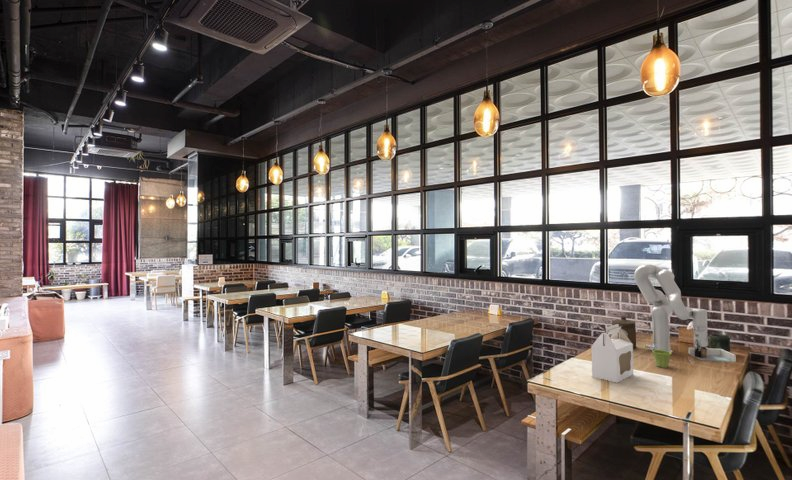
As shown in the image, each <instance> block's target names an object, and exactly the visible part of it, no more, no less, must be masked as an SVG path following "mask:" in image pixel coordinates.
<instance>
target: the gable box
mask: <svg viewBox="0 0 792 480" xmlns="http://www.w3.org/2000/svg"><path fill="white" fill-rule="evenodd" d="M620 328H621V326H620V327H619V325H618V324H615V325H612V324H611V325H609V326H606V327H604V332H602V333H601V334H600V335H599V336H598V337H597V338H596V340H595V341H594V342H593V343H592V345H591V377H592V378H594V377H596V378H595V379H598V378H600V379H599V380H603V379H604V381H607V380H608V381H607V382H611V381H612V383H615V382H616V383H615V384H618V383H619V382H621V381H623V379H624V380H625V379H627V378H629V377H631V376H633V375H634V349H633V343H632V342H631V341H630V340H629V338H628V337H627V336H626V334H625V333H624V332H623V330H621V329H620ZM620 338H621V339H620Z"/></svg>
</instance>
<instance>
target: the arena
mask: <svg viewBox="0 0 792 480" xmlns="http://www.w3.org/2000/svg"><path fill="white" fill-rule="evenodd" d="M706 348H707V357H706V358H700V357H694V349H695V348H694V347H688V355H690V356H691V357H694V358H696V359H698V360H700V361H709V362H711V361H712V362H732V363H733V362H734V363H736V362H737V357H736V354H734V353H732V352H731V351H730V352H727V351H725V350H723V349H710V348H708V347H706Z"/></svg>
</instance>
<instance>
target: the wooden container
mask: <svg viewBox="0 0 792 480" xmlns="http://www.w3.org/2000/svg"><path fill="white" fill-rule="evenodd" d="M611 321H612V323H611V326H612V325H615V324H618V325H619V327H620V326H621V328H620V329H621V330H623V332H624V333H625V334H626V336H627V337H628V338H629V340H630V341H631V342H632V343H633V350H635V349H637V332H636V329H637V327H636V322H635V321H634V320H629V319H627V316H625V315H622V316H620V319H612V320H611ZM620 339H621V338H620Z"/></svg>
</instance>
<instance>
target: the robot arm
mask: <svg viewBox="0 0 792 480" xmlns="http://www.w3.org/2000/svg"><path fill="white" fill-rule="evenodd" d="M633 278H634V281H635V284H636V285H637V287H638V289H639V290H640V292H641V294H642V296H643V298H644V299H645V302H647V303H648V304H649V305H652V306H653V307H652V308H651V312H650V313H651V320H652V343H651V344H645V345H644V347H645V348H646V349H650V351H651V352H653V350H664V351H669V352H671V354H672V353H674V351H673V350H672V349H671V346H670V345H671V344H670V343H671V342H670V337H671V336H670V334H671V333H670V321H669V320H670V319H669V318H670V317H671V316H672V315H673V313H674V315H675V316H676V317H677V318H678V319H679V320H681V321H686V320H689V319H692V330H693V348H695V349H694V350H695V357H701V351H700V349H701V348H703V349H707V348H708V347H706V346H709V339H708V337H709V334H708V311H707V309H706V308H705V309H703V308H695V307H690V306H685V304H684V302H683V300H682V292H681V289H680V288H679V286H678V285H677V283H676V282H675V274H674V272H672V271H671V270H668V269H665V268H662V267H660V266H656V265H653V264H642V265H639V266H638V267H637V268H636V269H635V270H634V274H633ZM650 278H653V279H656V280H657V282H658V283H659V285H660V287H661V289H662V290H663V291H661V290H660V289H656V288H655V286H654V285H653V283H652V282H651V280H650ZM663 292H664V293H665V294H664V293H663ZM695 357H694V358H695Z"/></svg>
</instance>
